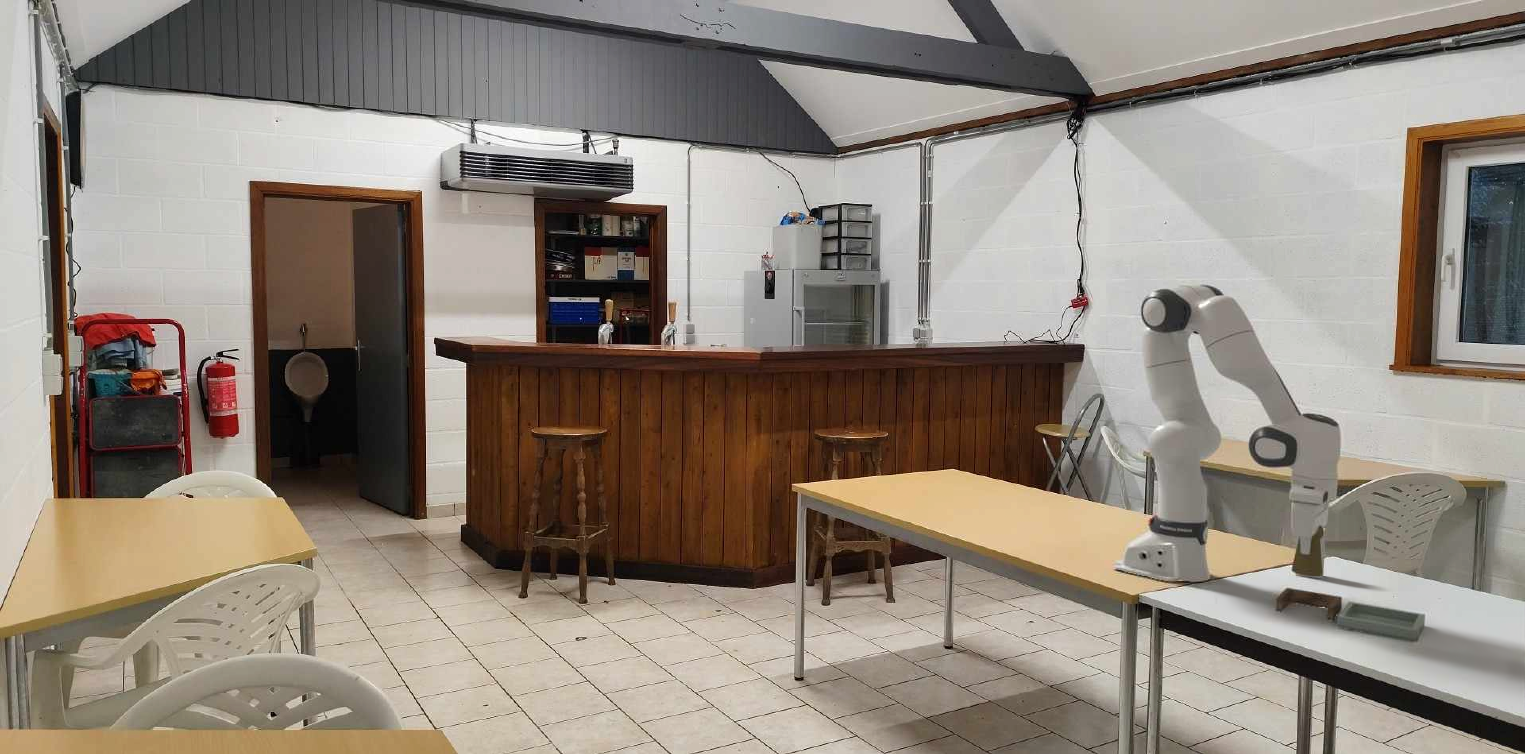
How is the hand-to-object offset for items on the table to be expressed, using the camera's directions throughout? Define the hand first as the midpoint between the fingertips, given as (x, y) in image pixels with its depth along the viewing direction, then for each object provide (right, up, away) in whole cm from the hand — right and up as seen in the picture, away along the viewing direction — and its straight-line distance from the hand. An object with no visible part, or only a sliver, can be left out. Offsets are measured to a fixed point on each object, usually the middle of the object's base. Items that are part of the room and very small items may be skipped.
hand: (1308, 551), depth 221 cm
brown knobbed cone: (0, -5, +1) cm, 5 cm away
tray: (+10, -14, -9) cm, 20 cm away
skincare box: (+17, -12, +31) cm, 38 cm away
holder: (+1, -13, +1) cm, 13 cm away
